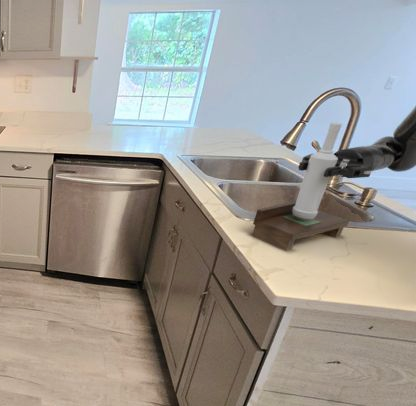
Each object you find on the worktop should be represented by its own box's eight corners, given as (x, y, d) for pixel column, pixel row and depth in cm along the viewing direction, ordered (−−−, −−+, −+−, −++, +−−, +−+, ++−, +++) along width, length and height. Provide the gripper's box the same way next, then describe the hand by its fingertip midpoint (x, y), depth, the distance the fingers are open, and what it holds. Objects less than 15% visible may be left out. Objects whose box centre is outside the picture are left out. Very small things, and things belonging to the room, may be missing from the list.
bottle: (321, 218, 97) (357, 125, 87) (302, 220, 97) (336, 126, 87) (303, 210, 102) (335, 121, 92) (286, 212, 101) (316, 122, 91)
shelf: (342, 236, 100) (353, 210, 97) (287, 252, 94) (297, 224, 91) (302, 222, 109) (311, 197, 106) (249, 234, 103) (257, 209, 100)
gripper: (329, 141, 103) (287, 148, 98) (397, 154, 90) (353, 163, 85) (320, 167, 106) (279, 175, 101) (385, 182, 93) (341, 192, 88)
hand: (313, 169), depth 93 cm, fingers closed on bottle, 5 cm apart
